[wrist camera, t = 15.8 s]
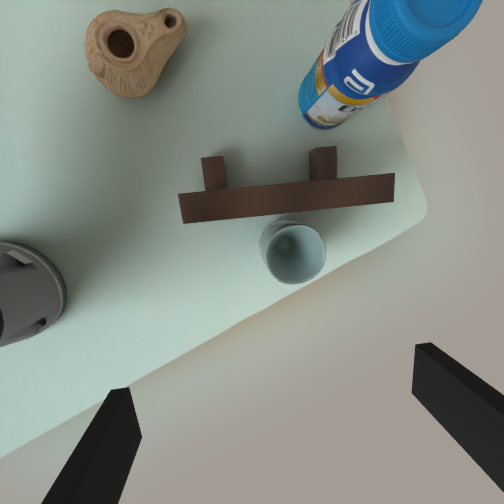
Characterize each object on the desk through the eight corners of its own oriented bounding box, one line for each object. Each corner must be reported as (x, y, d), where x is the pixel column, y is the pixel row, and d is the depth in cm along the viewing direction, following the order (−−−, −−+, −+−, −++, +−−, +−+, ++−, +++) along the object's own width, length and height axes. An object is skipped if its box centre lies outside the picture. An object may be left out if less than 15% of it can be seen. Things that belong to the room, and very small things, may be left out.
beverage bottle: (332, 53, 33) (476, -144, 14) (361, 108, 35) (522, 3, 16) (284, 92, 34) (357, -47, 15) (315, 143, 36) (416, 82, 17)
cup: (307, 256, 40) (331, 275, 30) (262, 269, 40) (273, 292, 30) (297, 211, 38) (320, 216, 28) (250, 224, 38) (257, 233, 28)
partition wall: (198, 214, 37) (182, 223, 24) (191, 162, 35) (169, 142, 22) (339, 200, 38) (394, 201, 26) (339, 148, 36) (397, 123, 24)
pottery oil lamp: (206, 65, 32) (190, 67, 26) (137, 104, 36) (112, 113, 30) (168, -26, 27) (139, -46, 22) (93, 30, 31) (53, 25, 25)
